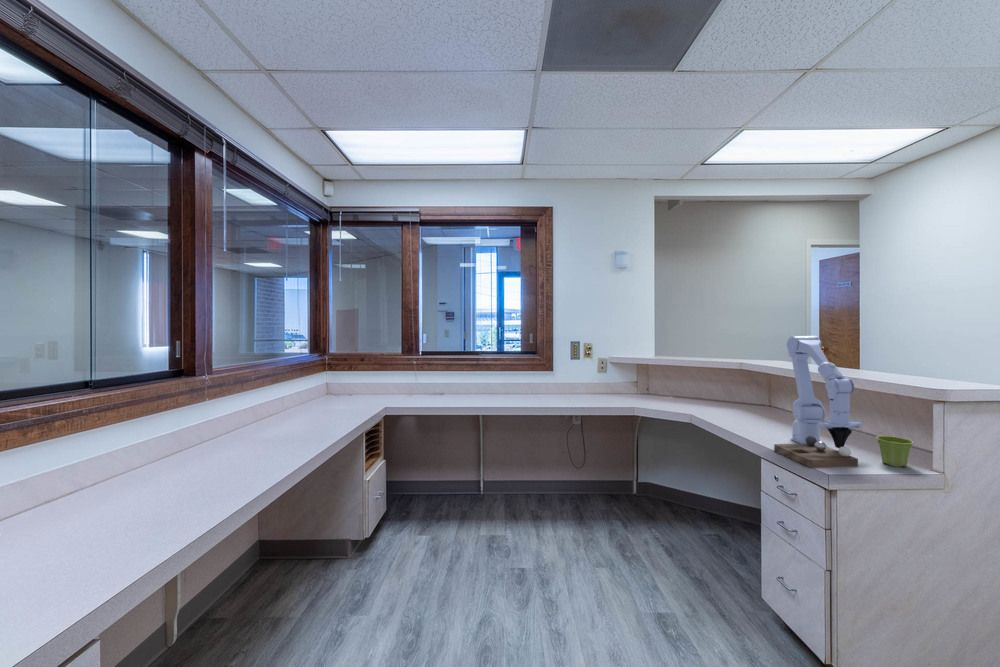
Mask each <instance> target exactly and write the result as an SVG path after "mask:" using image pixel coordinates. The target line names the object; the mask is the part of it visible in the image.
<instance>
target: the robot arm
mask: <svg viewBox="0 0 1000 667" xmlns="http://www.w3.org/2000/svg"><path fill="white" fill-rule="evenodd" d="M821 346H822V341H821V339H820V338H819V336H818V335H790V336H789V338H788V339H787V342H786V347H787V351H788V356H789V357H790V358H791V363H792V369H793V373H794V378H795V384H796V388H797V396H798V398H796V400H794V401H793V402H792V416H793V417H794V419H795V420H793V422H792V425H791V426H792V427H791V428H792V429H791V430H792V432H791V433H792V434H791V435H792V437H790V438H789V439H790V440H791V441H794V442H795V443H797V444H802V443H806V438H807V437H808V436H813V437H815V438H816V440H817V442H818V441H821V430H825V429H827V431H828V432H829V434H830V436H831V437H832V440H833V442H834V446H835V448H838V449H839V448H840V447H843V446H844V447H845V444H846V442H847V440H848V438H849V436H850V435H851V434H852V433H853V432H852V429H862V422H859V421H851V419H850V416H851V414H850V411H851V410H850V409H851V404H850V401H851V398H850V397H851V394H853V393H854V390H855V383H854V382H853V380H852V378H849V377H847V376H846V375H843V373H842V372H841V371H840V370H839V368H838V367H837V366H836V364H835V363H833V362H829V360H828V358H827V357H826V355H825V354H824V352H823V349H822V348H821ZM809 358H811V359H812V360H813V361H814V363H816V365H817V366H818V367H817V372H818V373H819V375H820V376H821V377H822V380H823V381H824V382H825V391H826V392H827V397H828V399H829V419H828V420H829V421H824V420H825V419H826V417H827V412H826V409H825V407H824V406H823V402H822V401H821V400H820V399H818V398H817V397H815V393H814V387H813V382H812V378H811V373H810V368H809V364H808V359H809Z"/></svg>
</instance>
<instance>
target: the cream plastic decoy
mask: <svg viewBox="0 0 1000 667" xmlns="http://www.w3.org/2000/svg"><path fill="white" fill-rule="evenodd" d="M837 451H838V452H839V454H840V455H841V456H844V457H848V456H851V455H852V451H851V448H850V447H848V446H845V445H844V446H843V447H840V448H838V449H837Z"/></svg>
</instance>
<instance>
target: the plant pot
mask: <svg viewBox="0 0 1000 667" xmlns="http://www.w3.org/2000/svg"><path fill="white" fill-rule="evenodd" d="M875 438H876V440H877V443H878V445H879V450H880V456H881V461H882V463H883V464H887V465H888V466H891V467H907V466H908V461H909V455H910V451H911V448H912V446H913V444H914V441H913V440H911V439H907V438H904V437H898V436H892V435H891V436H890V435H878V436H876V437H875Z"/></svg>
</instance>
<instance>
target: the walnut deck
mask: <svg viewBox="0 0 1000 667" xmlns="http://www.w3.org/2000/svg"><path fill="white" fill-rule="evenodd" d="M773 446H774V447H773V448H774V449H773V451H774V450H775V451H774V452H776V451H777V453H778V452H779V454H781V453H782V454H781V455H783V454H784V455H783V456H785V455H786V456H785V457H787V456H788V457H787V458H789V457H790V458H789V459H791V460H793V461H795V462H797V463H799V464H802V465H804V466H806V467H808V468H823V467H827V468H829V467H832V468H833V467H857V466H859V459H858V458H857V457H854V456H851V455H850V456H848V457H844V456H841V455H840V454H839V452H838V449H837V450H836V449H834V448H832V447H828V446H827V445H826V449H825V450H824V451H818V450H817V449H816V448H815V446H814V445H813V446H811V445H808V444H807V443H802V444H801V443H775V444H773Z"/></svg>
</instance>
